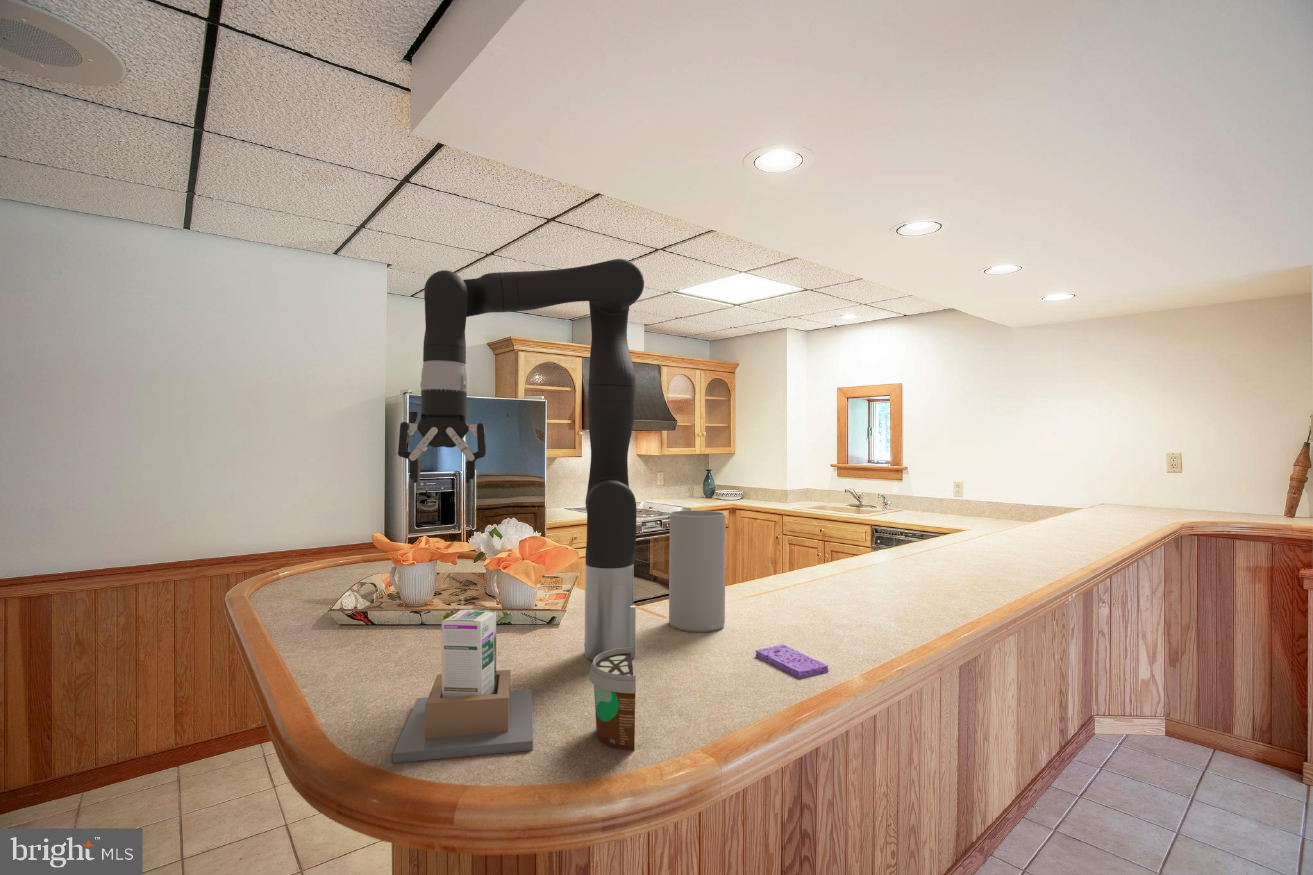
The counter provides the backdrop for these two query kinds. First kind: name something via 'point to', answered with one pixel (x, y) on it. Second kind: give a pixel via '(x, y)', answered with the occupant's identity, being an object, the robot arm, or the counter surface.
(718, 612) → the cylinder vase
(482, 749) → the socket holder
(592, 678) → the food container
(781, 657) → the sponges
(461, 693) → the syrup box
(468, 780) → the counter surface
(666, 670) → the counter surface
